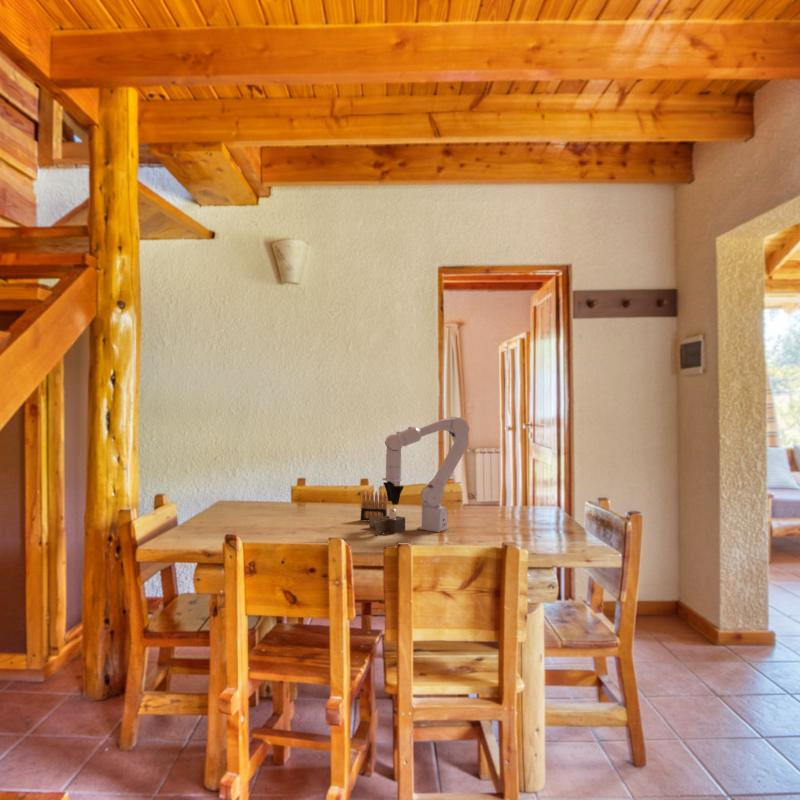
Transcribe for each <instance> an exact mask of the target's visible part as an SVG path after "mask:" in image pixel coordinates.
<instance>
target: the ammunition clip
mask: <svg viewBox="0 0 800 800" xmlns="http://www.w3.org/2000/svg"><path fill="white" fill-rule="evenodd" d="M387 500H388V499H387V492H386V491H384V492H383V493H382V491H380V492H379V496H378V492H377V490H376V491H375V494H374V493H373V491H371V493H370V492H369V491H368V490H367V492H366V493H365V490H363V491H362V497H361V509H360V520H369V515H377V516H384V517H385V516H388V507H387V506H388V501H387Z"/></svg>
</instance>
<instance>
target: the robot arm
mask: <svg viewBox="0 0 800 800" xmlns="http://www.w3.org/2000/svg"><path fill="white" fill-rule="evenodd" d="M468 423H469V422H468V421H467V420H466V419H465V418H464V417H461V416H459V417H457V416H451V417H449V418H443V419H439V420H436V421H434V422H432V423H430V424H429V423H428V424H427V425H424V426H422V427H419V428H418V427H416V426H411V425H410V426H408V427H407V429H404V430H402V431H399V430H398V431H395V432H396V433H395V434H389V435H388V436H386V438H385V441H384V445H385V446H386V454H385V477H383V478H382V480H383V481H386V482H383V486H384V489H385V492H386V499H387V500H388V501H387V502H391V505H393V506H394V505H395V506H397V505H399V504H400V503H399V502H400V498H401V494H402V491H403V490H404V486H403V485H401V481H402V479H403V478H402V448H403V447H407V446H409V445H411V444H414V443H417V442H418V443H419V442H420V441H421V439H422V437H425V436H427V435H430V434H433V433H436V432H439V431H446V432H448V433H449V435H451V438H452V441H453V444H452V446H451V447H450V449H449V451H448V453H447V454H446V457H445V458H444V460H443V461H442V463H441V465H440V467H439V468H438V470H437V472H436V473H435V475H434V477H433V478H432V479H431V480H430V481H429V483H428V484H427V485H426V486H425V487H423V488H422V489H421V492H420V497H421V499H422V503H421V525H420V526H417V527H416V529H417V530H423V531H427V532H428V531H429V532H437V533H439V532H442V531H446V530H448V529H449V526H448V521H449V520H448V510H447V509H448V508H446V507H445V506H442V503H441V502H442V501H443V496H444V493H445V490H446V485H447V483H448V481H449V479H450V477H452V474H453V473H454V471H455V469H456V467H457V465H458V464H459V462H460V460H461V459H462V457H463V455H464V454H465V452H466V450H467V449H468V446H469V438H470V437H469V436H470V434H469V432H470V425H469V424H468Z"/></svg>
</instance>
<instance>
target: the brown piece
mask: <svg viewBox="0 0 800 800" xmlns="http://www.w3.org/2000/svg"><path fill="white" fill-rule="evenodd" d="M368 522H369V526H368V527H372V528H371V529H375V531H374V535H379V536H381V535H380V534H382V535H384V534H383V533H385V534H388V533H387V532H390V533H389V534H393V533H396V534H399V533H402V532H405V531H406V516H400V515H399V516H398V515H396V519H389V515H387V516H385V517H384V516H383V515H382V516H377V515H369V521H368ZM401 531H402V532H401ZM398 532H399V533H398Z"/></svg>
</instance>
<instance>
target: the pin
mask: <svg viewBox="0 0 800 800" xmlns="http://www.w3.org/2000/svg"><path fill="white" fill-rule="evenodd" d="M388 516H389V519H396V516H397V509H396V508H389V509H388Z"/></svg>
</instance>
